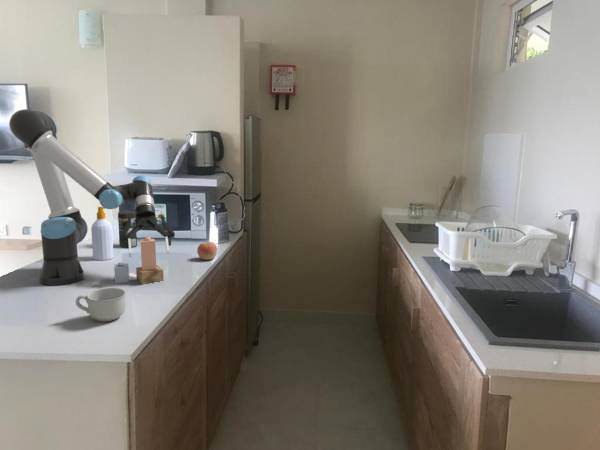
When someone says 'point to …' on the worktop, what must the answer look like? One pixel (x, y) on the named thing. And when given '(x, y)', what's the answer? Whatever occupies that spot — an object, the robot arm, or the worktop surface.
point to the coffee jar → (122, 222)
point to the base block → (149, 275)
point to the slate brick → (121, 272)
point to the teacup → (104, 303)
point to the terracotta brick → (148, 254)
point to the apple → (207, 250)
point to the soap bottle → (102, 237)
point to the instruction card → (133, 274)
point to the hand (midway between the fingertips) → (149, 253)
